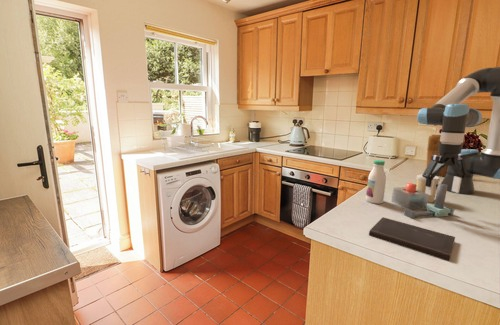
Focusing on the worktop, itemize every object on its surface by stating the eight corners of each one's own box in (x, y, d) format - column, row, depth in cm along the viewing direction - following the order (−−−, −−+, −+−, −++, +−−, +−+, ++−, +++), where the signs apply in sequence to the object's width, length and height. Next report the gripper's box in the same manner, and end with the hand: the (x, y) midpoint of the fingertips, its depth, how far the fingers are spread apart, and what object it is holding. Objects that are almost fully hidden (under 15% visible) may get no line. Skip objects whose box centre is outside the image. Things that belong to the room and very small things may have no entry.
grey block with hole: (408, 200, 129) (411, 186, 128) (426, 208, 120) (428, 193, 118) (391, 201, 127) (393, 187, 126) (407, 209, 118) (410, 194, 116)
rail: (444, 211, 116) (445, 205, 115) (452, 215, 112) (454, 208, 111) (404, 214, 111) (405, 208, 111) (411, 218, 108) (412, 212, 107)
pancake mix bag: (456, 179, 171) (465, 136, 165) (422, 174, 183) (428, 133, 177) (457, 177, 176) (465, 135, 170) (423, 172, 188) (430, 133, 182)
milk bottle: (381, 199, 130) (387, 159, 125) (384, 205, 122) (389, 162, 118) (364, 197, 132) (369, 158, 128) (366, 202, 125) (371, 161, 121)
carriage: (436, 211, 116) (442, 182, 113) (449, 216, 110) (455, 186, 108) (425, 211, 115) (430, 182, 112) (437, 217, 109) (443, 187, 106)
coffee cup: (439, 203, 126) (443, 179, 123) (417, 202, 128) (421, 178, 125) (430, 197, 135) (434, 174, 132) (410, 195, 137) (413, 173, 134)
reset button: (409, 195, 125) (411, 182, 124) (416, 197, 121) (418, 185, 120) (402, 195, 124) (404, 183, 123) (409, 198, 120) (411, 185, 119)
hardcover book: (381, 222, 105) (382, 217, 104) (454, 243, 90) (455, 236, 90) (368, 236, 93) (369, 230, 93) (448, 262, 78) (450, 255, 78)
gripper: (466, 140, 112) (457, 188, 117) (417, 142, 107) (409, 192, 112) (485, 143, 105) (474, 193, 110) (433, 145, 100) (424, 198, 105)
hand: (441, 193), depth 111 cm, fingers open, 13 cm apart
